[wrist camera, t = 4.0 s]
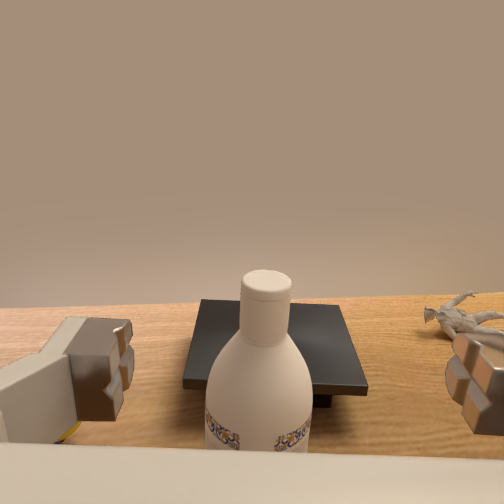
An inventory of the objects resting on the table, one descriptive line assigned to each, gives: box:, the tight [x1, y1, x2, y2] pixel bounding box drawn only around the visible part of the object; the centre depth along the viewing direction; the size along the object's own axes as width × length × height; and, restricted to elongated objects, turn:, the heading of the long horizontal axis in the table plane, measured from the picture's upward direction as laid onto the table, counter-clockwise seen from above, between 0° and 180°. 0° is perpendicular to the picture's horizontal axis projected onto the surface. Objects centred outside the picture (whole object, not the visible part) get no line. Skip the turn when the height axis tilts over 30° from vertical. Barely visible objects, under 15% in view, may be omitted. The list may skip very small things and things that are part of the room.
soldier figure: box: [424, 291, 504, 340], centre depth 57 cm, size 8×5×12 cm
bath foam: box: [205, 270, 313, 453], centre depth 29 cm, size 7×7×20 cm
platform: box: [183, 299, 368, 408], centre depth 47 cm, size 17×15×5 cm
